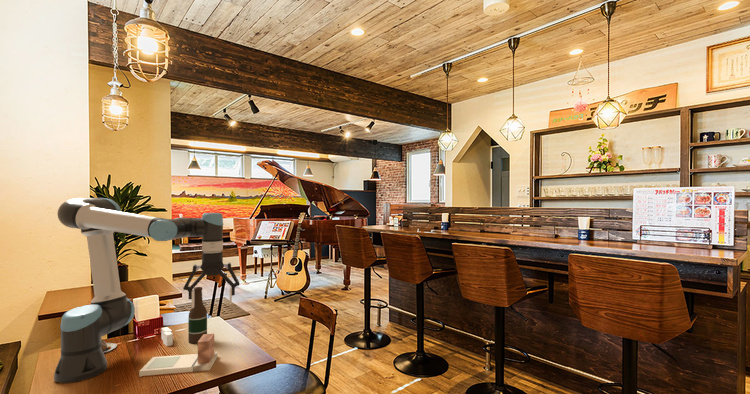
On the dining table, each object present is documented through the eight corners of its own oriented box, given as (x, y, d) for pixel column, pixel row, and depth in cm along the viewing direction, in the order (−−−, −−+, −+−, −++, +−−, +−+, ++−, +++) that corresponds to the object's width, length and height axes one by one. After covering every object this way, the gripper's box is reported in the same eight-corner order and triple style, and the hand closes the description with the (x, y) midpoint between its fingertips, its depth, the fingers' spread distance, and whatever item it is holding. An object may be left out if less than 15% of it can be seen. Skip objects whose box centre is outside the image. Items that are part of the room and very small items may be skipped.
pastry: (75, 358, 147) (75, 347, 147) (89, 347, 159) (89, 336, 159) (110, 355, 151) (110, 343, 151) (121, 344, 162) (121, 333, 162)
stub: (194, 371, 134) (194, 344, 135) (203, 357, 146) (203, 332, 146) (209, 370, 135) (209, 343, 136) (217, 356, 147) (217, 331, 147)
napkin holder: (159, 337, 170) (159, 325, 170) (185, 336, 171) (185, 324, 171) (143, 351, 155) (143, 337, 155) (172, 349, 156) (172, 336, 156)
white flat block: (139, 376, 131) (139, 370, 131) (152, 362, 143) (152, 356, 143) (193, 372, 134) (193, 366, 134) (202, 358, 146) (202, 353, 146)
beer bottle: (210, 337, 168) (210, 285, 168) (201, 344, 160) (201, 289, 160) (194, 337, 169) (194, 285, 169) (184, 343, 161) (184, 289, 161)
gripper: (175, 254, 137) (175, 311, 136) (246, 251, 146) (245, 304, 146) (178, 252, 144) (177, 306, 143) (245, 249, 153) (245, 299, 153)
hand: (212, 305), depth 145 cm, fingers open, 13 cm apart
